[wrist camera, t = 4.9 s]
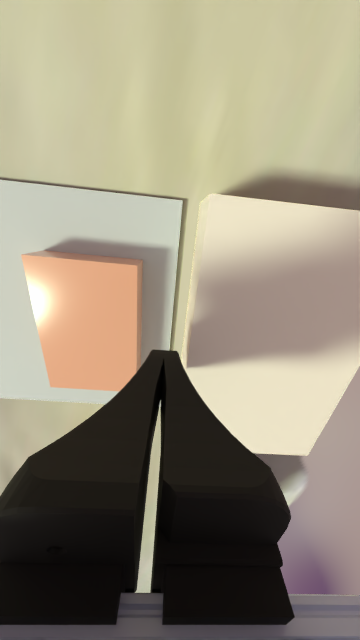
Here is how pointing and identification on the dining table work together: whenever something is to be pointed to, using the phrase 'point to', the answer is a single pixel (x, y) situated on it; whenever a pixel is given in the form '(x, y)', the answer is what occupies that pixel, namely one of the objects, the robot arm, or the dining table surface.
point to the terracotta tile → (87, 317)
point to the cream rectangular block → (273, 317)
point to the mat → (83, 238)
